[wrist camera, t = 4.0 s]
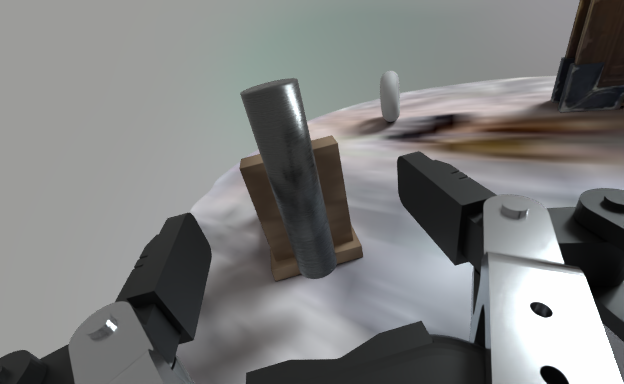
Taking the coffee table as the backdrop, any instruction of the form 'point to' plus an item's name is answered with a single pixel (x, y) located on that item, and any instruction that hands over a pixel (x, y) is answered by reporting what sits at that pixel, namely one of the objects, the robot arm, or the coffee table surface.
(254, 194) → the shaft stand
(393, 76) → the donut
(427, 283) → the coffee table surface
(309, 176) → the grey piece
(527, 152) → the coffee table surface
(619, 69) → the decorative book
